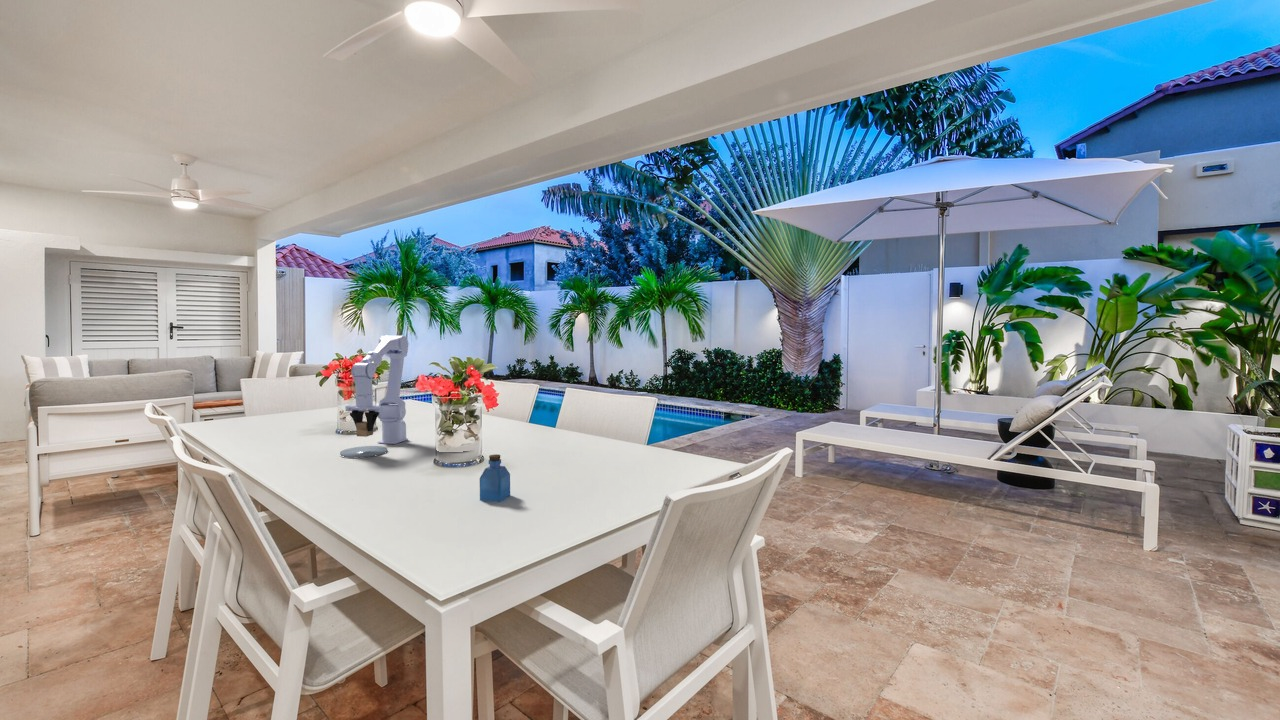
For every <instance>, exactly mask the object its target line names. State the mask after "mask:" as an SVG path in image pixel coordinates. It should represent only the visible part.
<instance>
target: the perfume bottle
mask: <svg viewBox="0 0 1280 720" xmlns="http://www.w3.org/2000/svg"><path fill="white" fill-rule="evenodd" d="M488 457H489V459H488V465H489V466H488V467H485V469H484V470H483V472H482V474H481V475H480V476H479V501H481V500H483V501H484V502H495V501H497V502H499V503H501V502H503V501H504V500H505V498H506V499H507V498H509V497H510V496H511V473H510V472H509V470H508V469H507V467H506V466H505V465H501V464H502V459H501V454H496V453H495V454H490V455H489V456H488ZM497 502H496V503H497Z"/></svg>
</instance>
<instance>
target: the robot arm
mask: <svg viewBox="0 0 1280 720" xmlns="http://www.w3.org/2000/svg"><path fill="white" fill-rule="evenodd" d="M408 351H409V341H408V338H407V337H406V335H404V334H403V335H386V334H383V335H382V334H381V336H380V338H379V339H378V344H377V346H376V347H375V349H374V350H373V351H368V352H367V354H366V355H365V356H364V357H363V358H362V359H361V361H359V362H356V363H355V364H353V365H352V367H351V372H350V373H351V376H352V379H353V380H352V381H353V382H354V385H355V386H354V389H355V405H354V404H353V405H351V404H350V405H345V412H349V417H351V419H352V420H353V422H354V426H356V423H358V422H362V421H363V420H364V415H365V417H366V418H365V419H366V421H367V428H368V431H373V432H374V427H375V423H376V420H377V418H378V420H379V421H380V422H381V431H382V435H381V436H382V437H381V439H382V440H380V441H377V444H384V445H385V444H388V445H391V444H393V445H396V444H399V443H401V442H405V441H407V440H409V438H407V425H406V422H405V420H404V418H405V416H406V413H407V410H406V402H405V401H404V400H403V399H402V398H401V397H400V393H401V385H402V379H403V378H402V377H403V369H404V361H405V357H407V356H408ZM384 356H386V357H387V358H389V359H390V362H389V369H390V370H388V377H387V378H388V379H387V385H386V394H385V396H384V397H383V398H381V399H380V400H379V402H378V405H374V403H373V402H374V401H373V400H374V398H373V397H374V396H373V378H374V377H375V376H376V375H375V374H376V371H377V368H378V366H379V365H380V364H382V361H383V357H384Z"/></svg>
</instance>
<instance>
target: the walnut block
mask: <svg viewBox="0 0 1280 720" xmlns="http://www.w3.org/2000/svg"><path fill="white" fill-rule="evenodd" d="M355 428H356V437H361V438H362V437H365V438H367V437H370V436H373V435H374V430H373V431H368V428H367V420H364V421H362V422H358V423H356V425H355Z"/></svg>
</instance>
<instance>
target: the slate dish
mask: <svg viewBox="0 0 1280 720" xmlns="http://www.w3.org/2000/svg"><path fill="white" fill-rule="evenodd" d="M385 452H386V453H388V447H386V446H383V445H382V446H381V445H363V446H356V447H355V446H354V447H350V448H346V449H343V450H341V451H340V452H339V456H340V455H341V456H344V457H366V458H369V457H368V456H373V457H376V456H375V455H378V456H381V455H380V454H382V455H384V454H383V453H385ZM386 453H385V454H386ZM341 456H340V457H341ZM344 457H343V458H344Z"/></svg>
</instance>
